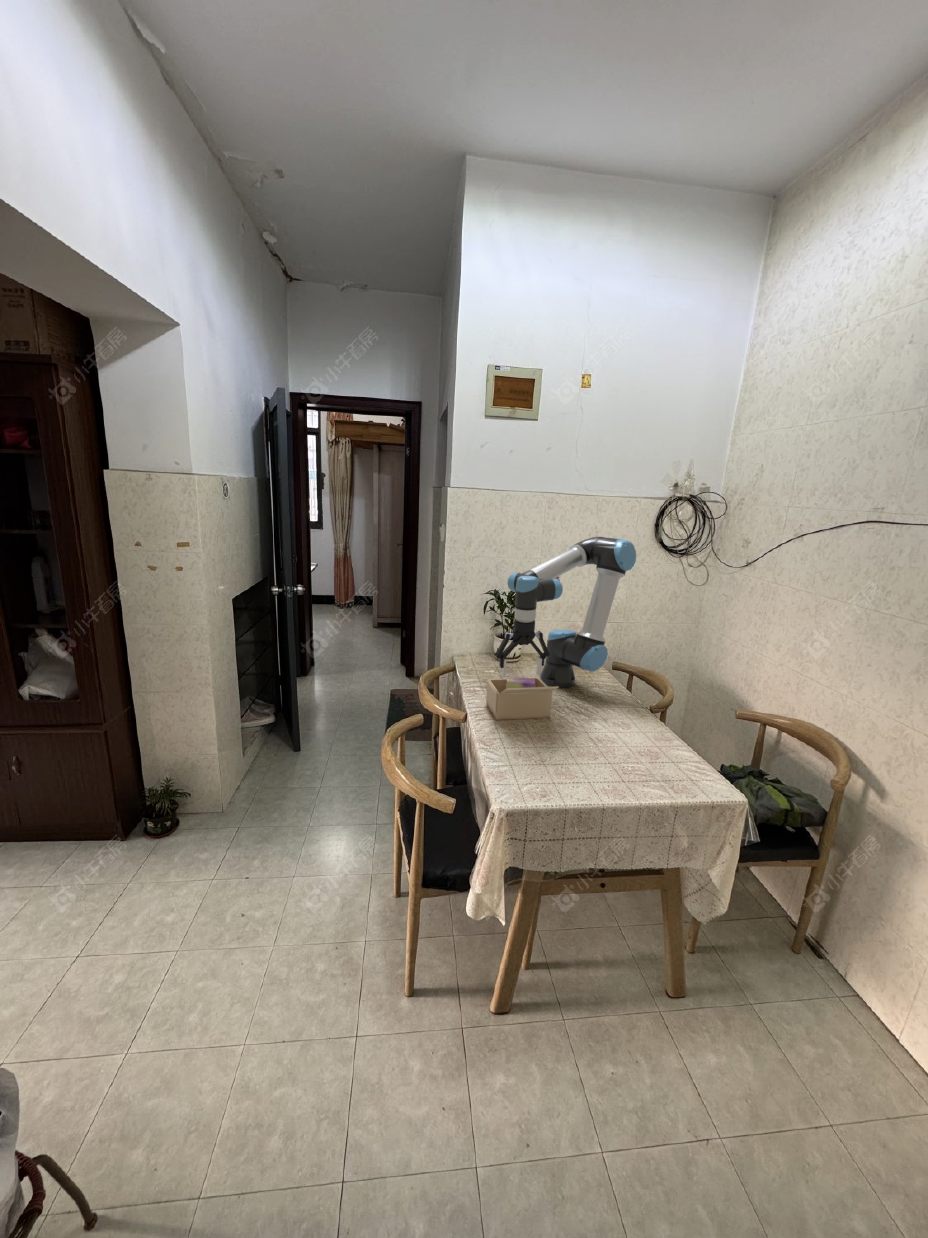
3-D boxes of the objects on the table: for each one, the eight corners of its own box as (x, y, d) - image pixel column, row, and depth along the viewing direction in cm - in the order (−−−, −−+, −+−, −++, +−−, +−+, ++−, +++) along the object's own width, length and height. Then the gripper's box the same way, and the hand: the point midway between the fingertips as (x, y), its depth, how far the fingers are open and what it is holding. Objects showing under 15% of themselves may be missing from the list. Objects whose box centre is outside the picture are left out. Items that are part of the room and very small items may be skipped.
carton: (537, 701, 197) (539, 677, 194) (550, 717, 183) (553, 692, 181) (485, 703, 192) (486, 679, 190) (495, 720, 179) (496, 694, 176)
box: (531, 706, 190) (534, 677, 187) (532, 713, 185) (535, 683, 182) (504, 704, 191) (506, 675, 188) (504, 711, 185) (506, 681, 182)
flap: (558, 686, 173) (559, 687, 173) (550, 690, 180) (550, 691, 180) (507, 688, 169) (507, 689, 169) (501, 692, 176) (501, 693, 176)
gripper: (553, 615, 185) (549, 669, 191) (488, 617, 180) (485, 672, 185) (561, 621, 178) (556, 677, 184) (493, 623, 173) (491, 680, 178)
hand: (521, 675), depth 185 cm, fingers open, 13 cm apart
